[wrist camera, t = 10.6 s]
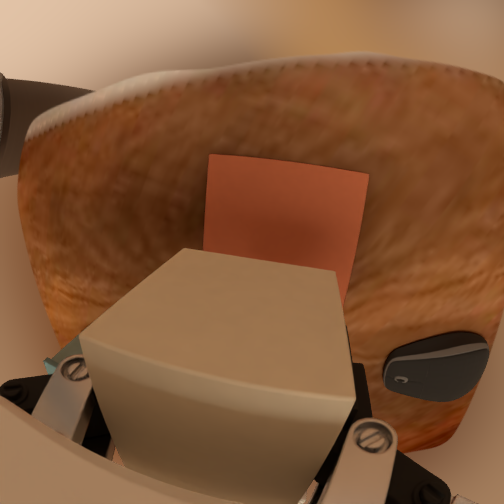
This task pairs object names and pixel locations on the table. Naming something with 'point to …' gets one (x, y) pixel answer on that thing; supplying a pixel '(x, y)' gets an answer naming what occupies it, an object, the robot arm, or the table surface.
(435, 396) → the computer mouse
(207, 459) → the small box
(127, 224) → the table surface
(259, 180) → the mat
